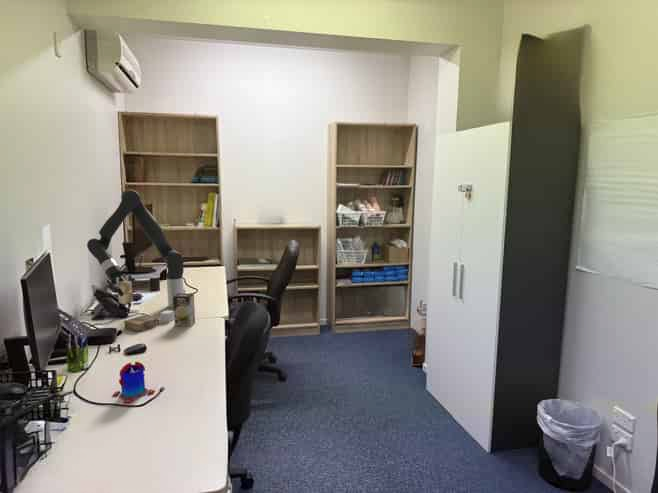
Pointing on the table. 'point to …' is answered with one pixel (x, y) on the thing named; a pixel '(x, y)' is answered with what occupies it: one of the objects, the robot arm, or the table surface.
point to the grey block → (167, 316)
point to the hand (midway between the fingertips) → (127, 294)
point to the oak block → (125, 292)
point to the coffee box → (184, 309)
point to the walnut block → (140, 323)
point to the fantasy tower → (132, 383)
